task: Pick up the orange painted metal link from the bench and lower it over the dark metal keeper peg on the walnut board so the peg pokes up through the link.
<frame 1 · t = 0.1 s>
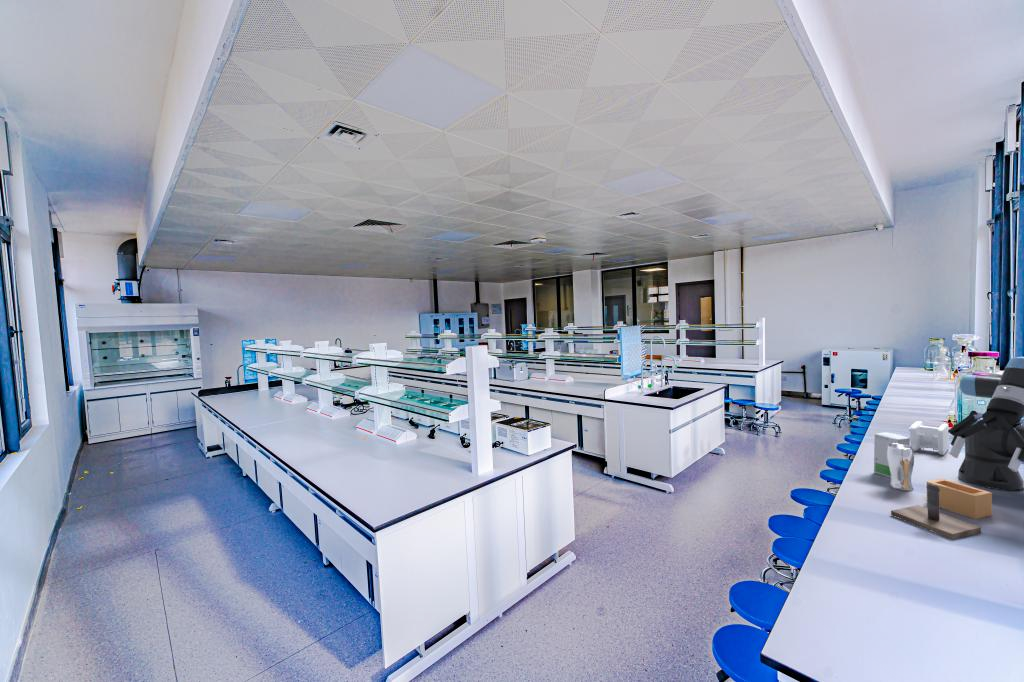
hand: (981, 462, 126), 15 cm above the table, tool tilted 35°, fingers open, 13 cm apart
cable organizer: (929, 451, 180), on the table
keeper board: (933, 523, 122), on the table
skincare box: (891, 475, 157), on the table
beer glass: (901, 488, 146), on the table
orange link: (958, 508, 129), on the table
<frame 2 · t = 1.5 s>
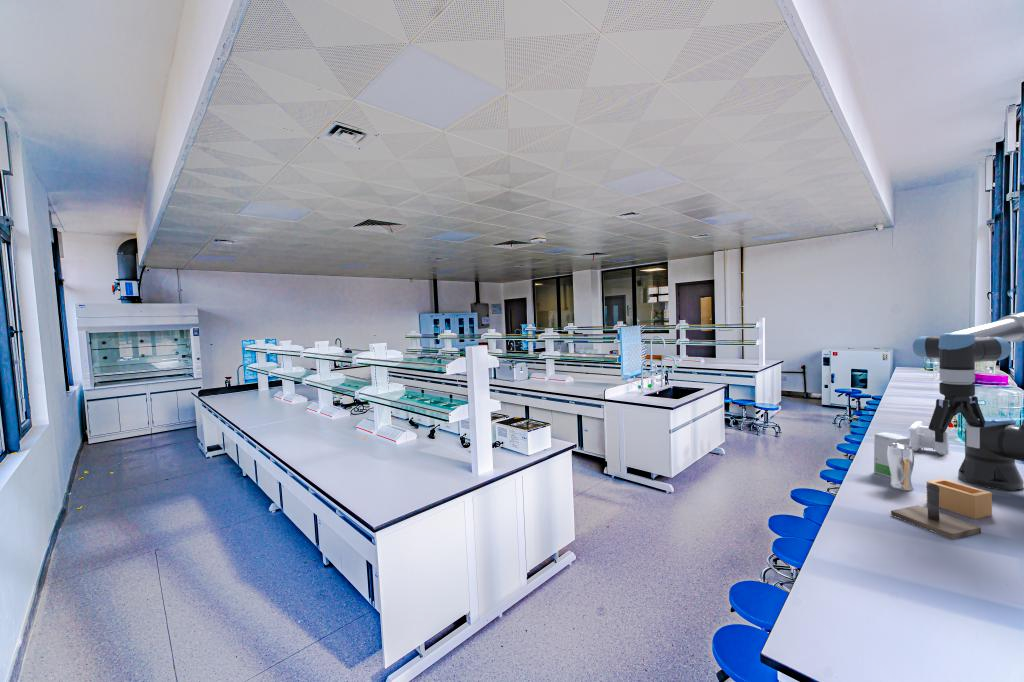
hand: (957, 449, 128), 19 cm above the table, tool pointing down, fingers open, 13 cm apart
nothing on the table moved.
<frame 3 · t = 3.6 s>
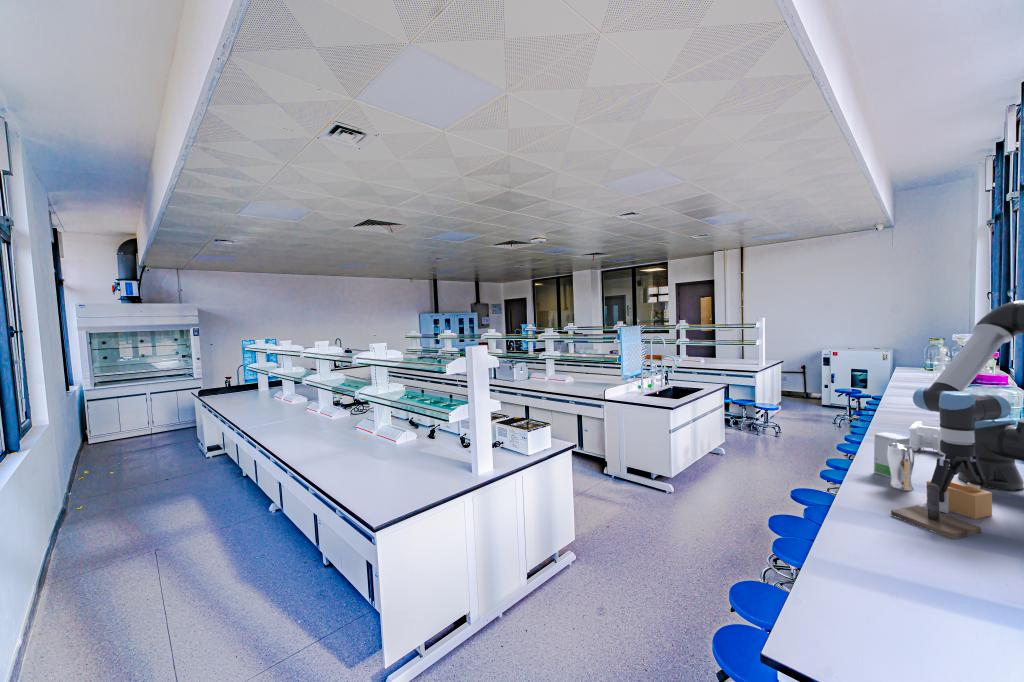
hand: (958, 507, 129), 0 cm above the table, tool pointing down, fingers open, 13 cm apart
nothing on the table moved.
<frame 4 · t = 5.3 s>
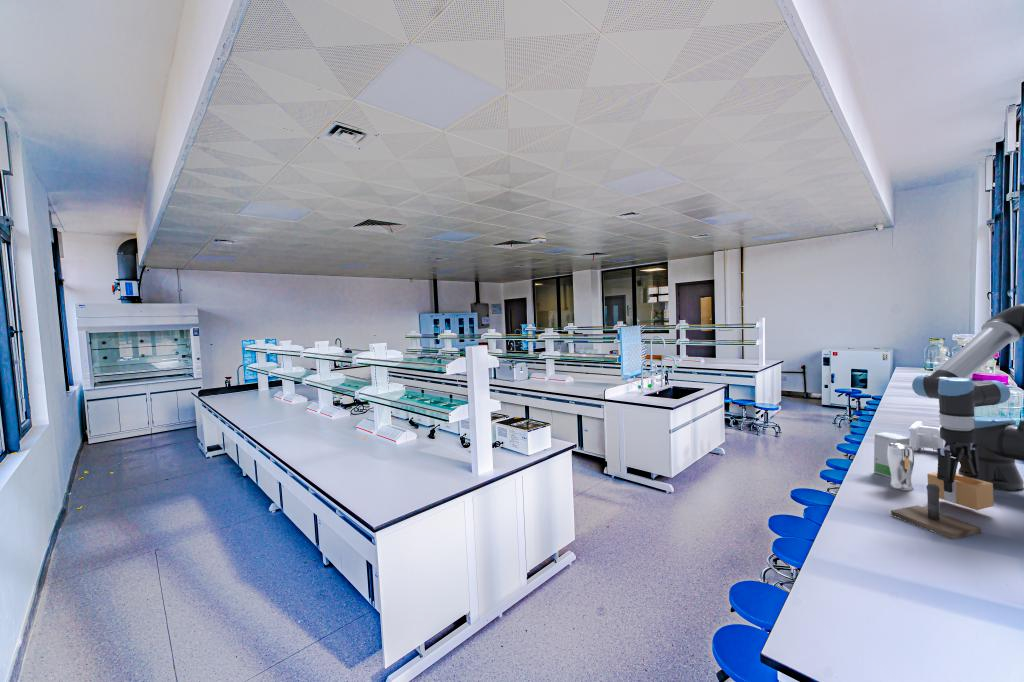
hand: (959, 499, 129), 3 cm above the table, tool pointing down, fingers closed on orange link, 7 cm apart
orange link: (959, 500, 129), point 3 cm above the table, touching gripper
everything else where it was.
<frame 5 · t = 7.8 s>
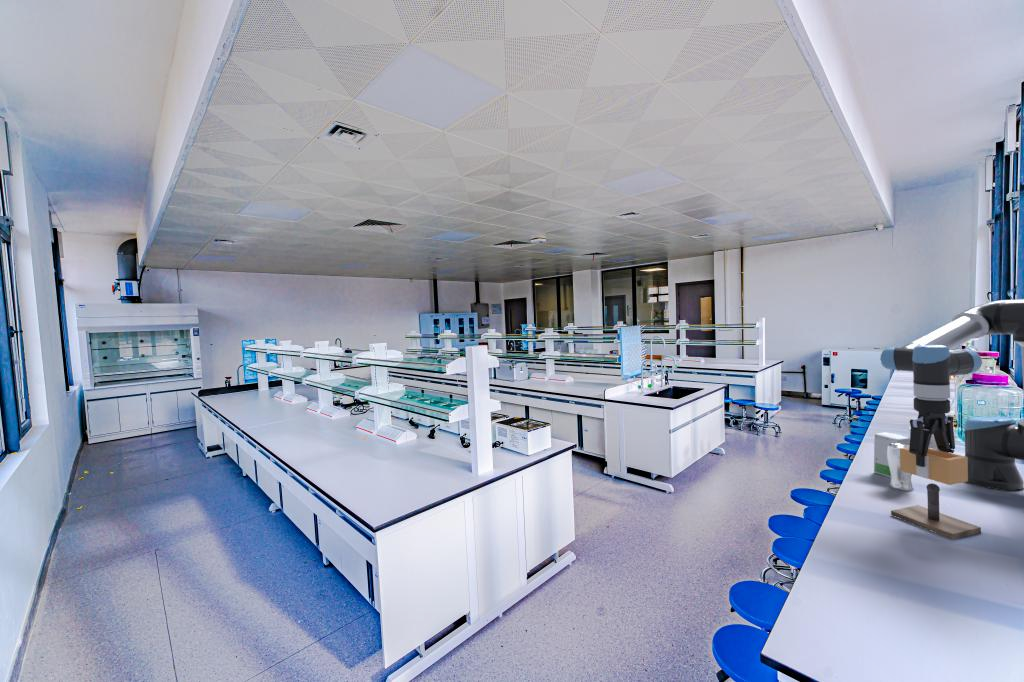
hand: (932, 475, 121), 15 cm above the table, tool pointing down, fingers closed on orange link, 7 cm apart
orange link: (932, 475, 121), point 14 cm above the table, touching gripper
everything else where it was.
when the fingers open (3 cm above the table, at t = 10.6 s): orange link drops 1 cm, resting on keeper board.
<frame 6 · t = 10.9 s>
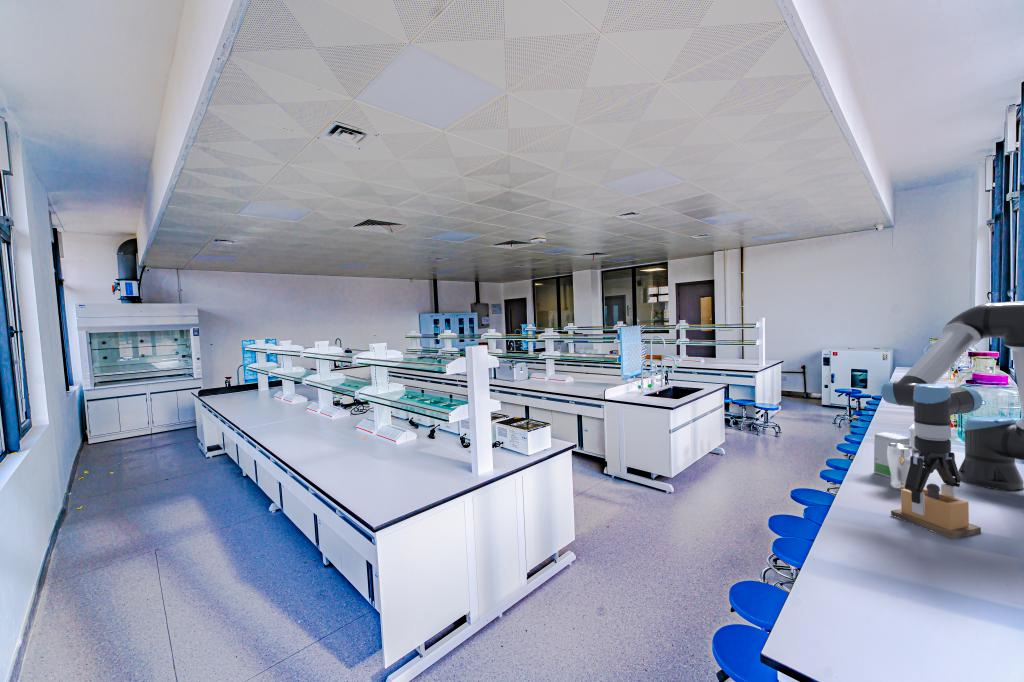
hand: (933, 510, 121), 4 cm above the table, tool pointing down, fingers open, 11 cm apart
orange link: (933, 518, 122), point 1 cm above the table, touching keeper board
everything else where it was.
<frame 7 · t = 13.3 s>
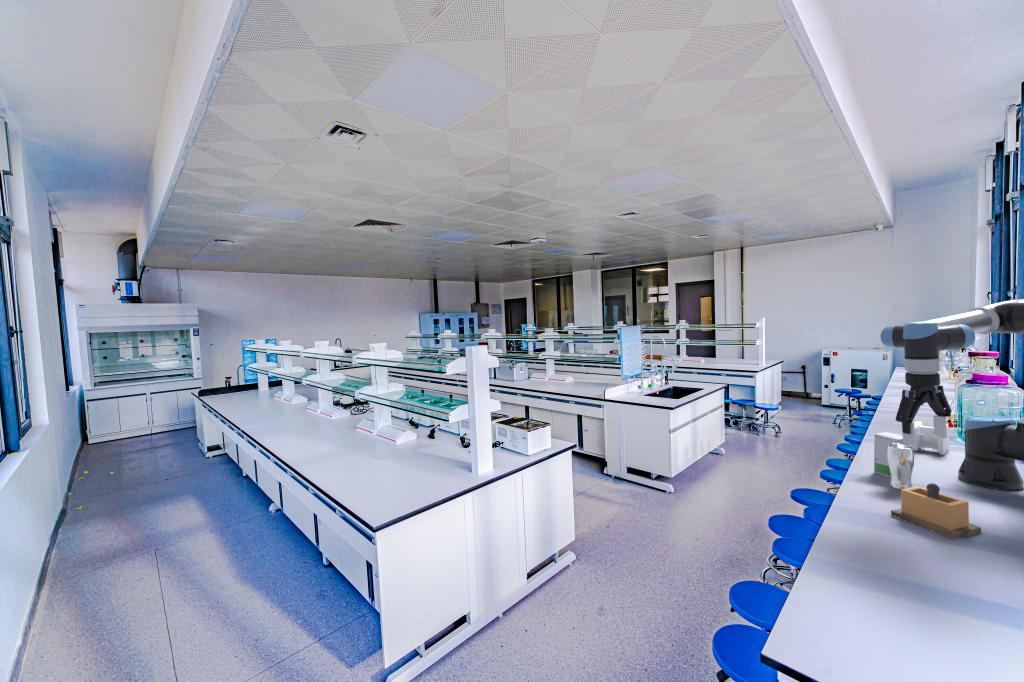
hand: (924, 440, 127), 23 cm above the table, tool pointing down, fingers open, 13 cm apart
nothing on the table moved.
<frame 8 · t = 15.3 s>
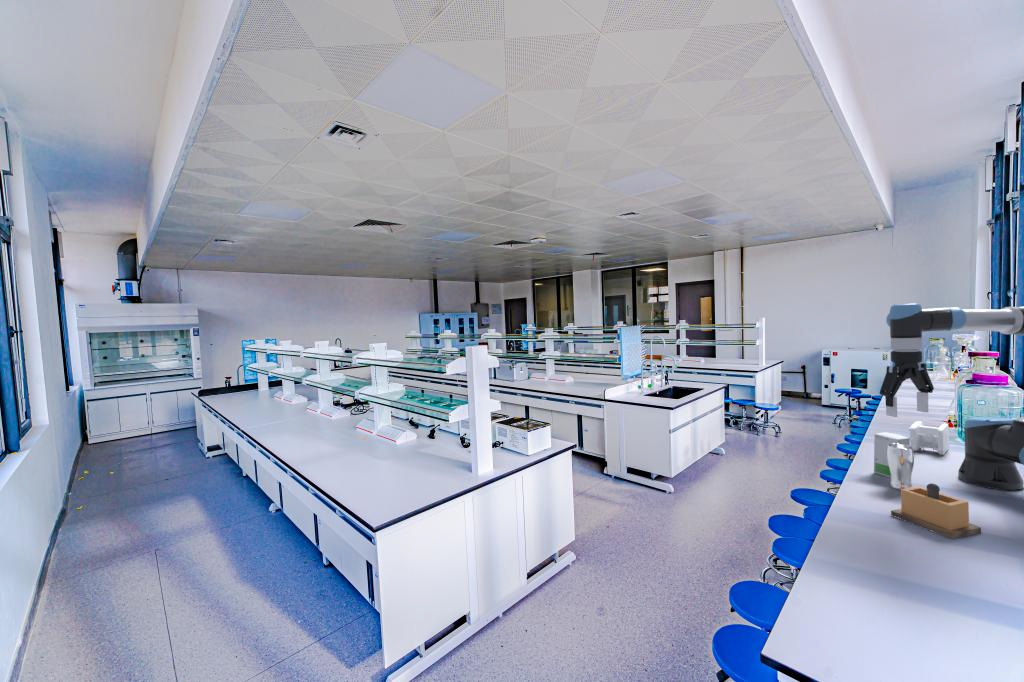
hand: (907, 413, 137), 29 cm above the table, tool pointing down, fingers open, 13 cm apart
nothing on the table moved.
at the end: orange link 0.1 cm from the keeper board (horizontally); orange link point 1.5 cm above the table; the gripper is holding nothing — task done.
